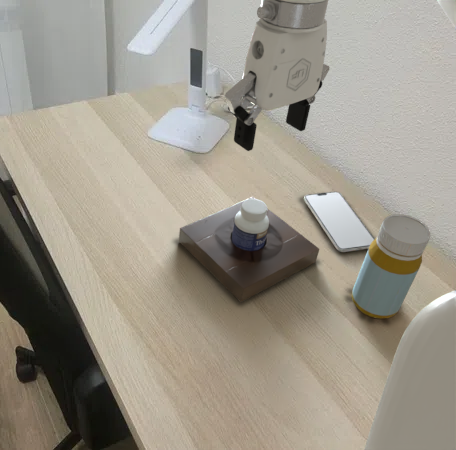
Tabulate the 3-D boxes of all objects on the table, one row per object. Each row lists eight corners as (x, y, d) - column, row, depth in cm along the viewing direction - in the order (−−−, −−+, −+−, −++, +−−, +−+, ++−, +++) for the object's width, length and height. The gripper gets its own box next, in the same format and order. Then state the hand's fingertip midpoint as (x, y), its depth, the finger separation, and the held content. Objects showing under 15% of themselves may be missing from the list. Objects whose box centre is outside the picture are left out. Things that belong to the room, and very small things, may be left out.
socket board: (315, 262, 90) (319, 248, 88) (240, 302, 83) (243, 288, 81) (250, 209, 99) (252, 196, 98) (178, 241, 92) (179, 228, 90)
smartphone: (339, 250, 91) (302, 195, 102) (338, 253, 91) (301, 197, 102) (379, 244, 92) (339, 190, 103) (378, 247, 93) (338, 193, 104)
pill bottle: (256, 267, 88) (266, 221, 82) (225, 256, 90) (232, 210, 84) (266, 247, 92) (276, 201, 86) (236, 237, 94) (243, 191, 87)
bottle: (359, 279, 87) (388, 205, 77) (404, 299, 84) (440, 225, 74) (343, 306, 83) (372, 231, 73) (389, 328, 80) (425, 253, 70)
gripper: (259, 34, 59) (239, 167, 70) (366, 6, 66) (333, 131, 77) (215, 12, 63) (203, 141, 74) (320, -11, 71) (294, 109, 82)
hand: (269, 136), depth 76 cm, fingers open, 9 cm apart
